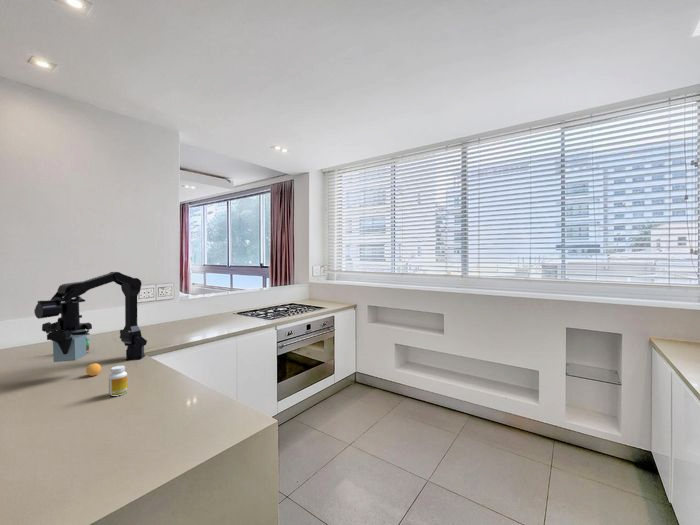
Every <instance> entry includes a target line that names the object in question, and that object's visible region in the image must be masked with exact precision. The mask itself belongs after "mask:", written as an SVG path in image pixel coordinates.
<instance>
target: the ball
mask: <svg viewBox="0 0 700 525" xmlns="http://www.w3.org/2000/svg"><path fill="white" fill-rule="evenodd" d="M101 371H102V366H101V364H99V363H98V362H97V363H96V362H95V363H91V364H89V365H88V366H87V367H86V369H85V373H86V374H87V375H88V376H90V377H94V376H97V375H98V374H100V373H101Z"/></svg>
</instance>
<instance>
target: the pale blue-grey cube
mask: <svg viewBox="0 0 700 525" xmlns="http://www.w3.org/2000/svg"><path fill="white" fill-rule="evenodd" d="M70 337H72V341H71V344H70V347H69V350H68V353H67V354H63V352H62V350H61V348H60V347H59V345H58V343H57V342H55V341H52V353H53V354H52V356H53V358H52V359H53V363H60V362H75V361H77V360H79V359H81V358H83V357H85V356H87V354H86V335H71V336H70Z"/></svg>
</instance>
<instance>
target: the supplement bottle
mask: <svg viewBox="0 0 700 525" xmlns="http://www.w3.org/2000/svg"><path fill="white" fill-rule="evenodd" d="M127 390H128V372H127V371H126V366H125V365H116V366H113V367H111V368H110V374H109V375H108V396H109V395H119V394H122V393H125V392H127V393H128V391H127Z"/></svg>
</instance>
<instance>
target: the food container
mask: <svg viewBox="0 0 700 525" xmlns="http://www.w3.org/2000/svg"><path fill="white" fill-rule="evenodd" d="M91 339H92V334H91V333H90V332H88V333H87V335H86V355H87V353H88V352H89V351H90V341H91ZM89 353H90V352H89ZM89 353H88V354H89Z"/></svg>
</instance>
